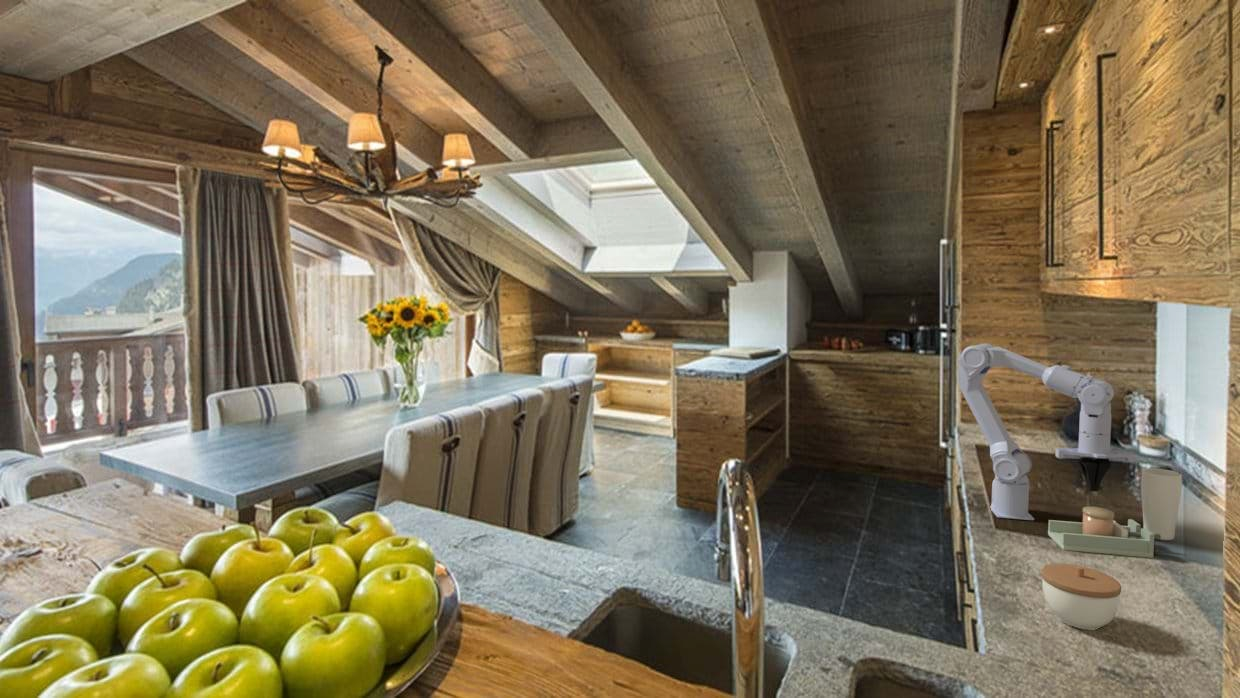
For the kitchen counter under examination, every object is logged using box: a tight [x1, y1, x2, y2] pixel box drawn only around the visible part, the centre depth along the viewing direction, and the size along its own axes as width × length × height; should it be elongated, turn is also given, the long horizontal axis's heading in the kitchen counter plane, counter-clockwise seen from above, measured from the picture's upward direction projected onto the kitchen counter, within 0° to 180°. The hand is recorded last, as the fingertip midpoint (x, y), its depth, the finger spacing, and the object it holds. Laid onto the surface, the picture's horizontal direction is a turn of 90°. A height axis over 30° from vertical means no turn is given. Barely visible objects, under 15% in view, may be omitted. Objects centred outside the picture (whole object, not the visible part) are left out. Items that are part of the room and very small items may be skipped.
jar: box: [1082, 506, 1115, 537], centre depth 132 cm, size 5×5×7 cm
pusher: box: [1112, 519, 1161, 540], centre depth 130 cm, size 6×8×4 cm
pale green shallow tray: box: [1047, 518, 1155, 559], centre depth 132 cm, size 9×16×5 cm, turn 72°
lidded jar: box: [1041, 563, 1122, 630], centre depth 102 cm, size 11×11×9 cm
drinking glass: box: [1140, 467, 1183, 541], centre depth 135 cm, size 7×7×15 cm
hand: (1092, 489), depth 139 cm, fingers closed
